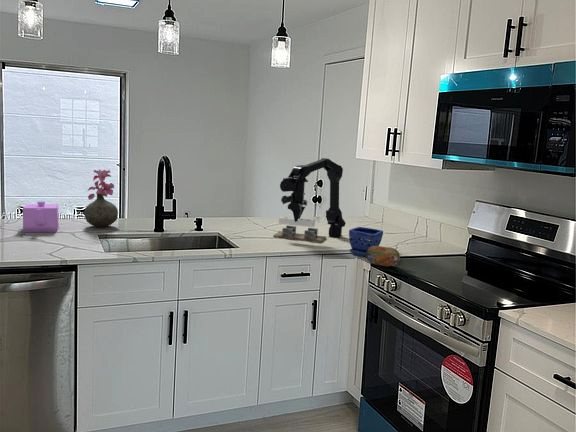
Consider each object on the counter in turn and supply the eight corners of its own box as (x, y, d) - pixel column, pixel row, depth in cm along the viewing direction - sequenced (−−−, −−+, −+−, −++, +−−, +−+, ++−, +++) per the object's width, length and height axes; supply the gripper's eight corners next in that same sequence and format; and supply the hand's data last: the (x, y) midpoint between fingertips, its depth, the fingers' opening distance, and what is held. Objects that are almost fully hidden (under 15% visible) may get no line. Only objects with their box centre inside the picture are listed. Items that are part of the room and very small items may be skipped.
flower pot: (382, 254, 262) (384, 230, 260) (372, 259, 250) (374, 234, 248) (357, 249, 268) (359, 226, 266) (346, 254, 257) (348, 229, 255)
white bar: (314, 225, 277) (315, 219, 276) (313, 227, 273) (313, 220, 272) (280, 222, 281) (281, 216, 280) (278, 223, 277) (279, 217, 276)
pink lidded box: (21, 235, 254) (20, 205, 252) (27, 224, 277) (26, 197, 275) (56, 234, 259) (55, 205, 257) (59, 224, 282) (59, 198, 280)
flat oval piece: (365, 262, 243) (366, 244, 241) (367, 261, 245) (369, 243, 244) (397, 268, 236) (399, 249, 234) (399, 267, 239) (401, 248, 237)
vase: (108, 231, 274) (108, 172, 269) (76, 228, 276) (76, 169, 272) (123, 225, 290) (123, 170, 285) (92, 222, 293) (93, 167, 288)
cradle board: (325, 238, 291) (326, 229, 290) (321, 242, 279) (322, 233, 278) (279, 233, 297) (279, 224, 296) (273, 237, 285) (273, 227, 285)
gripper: (287, 187, 285) (286, 216, 287) (278, 191, 267) (276, 222, 270) (308, 189, 282) (306, 218, 285) (300, 193, 264) (298, 224, 267)
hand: (296, 221), depth 277 cm, fingers closed on white bar, 4 cm apart
